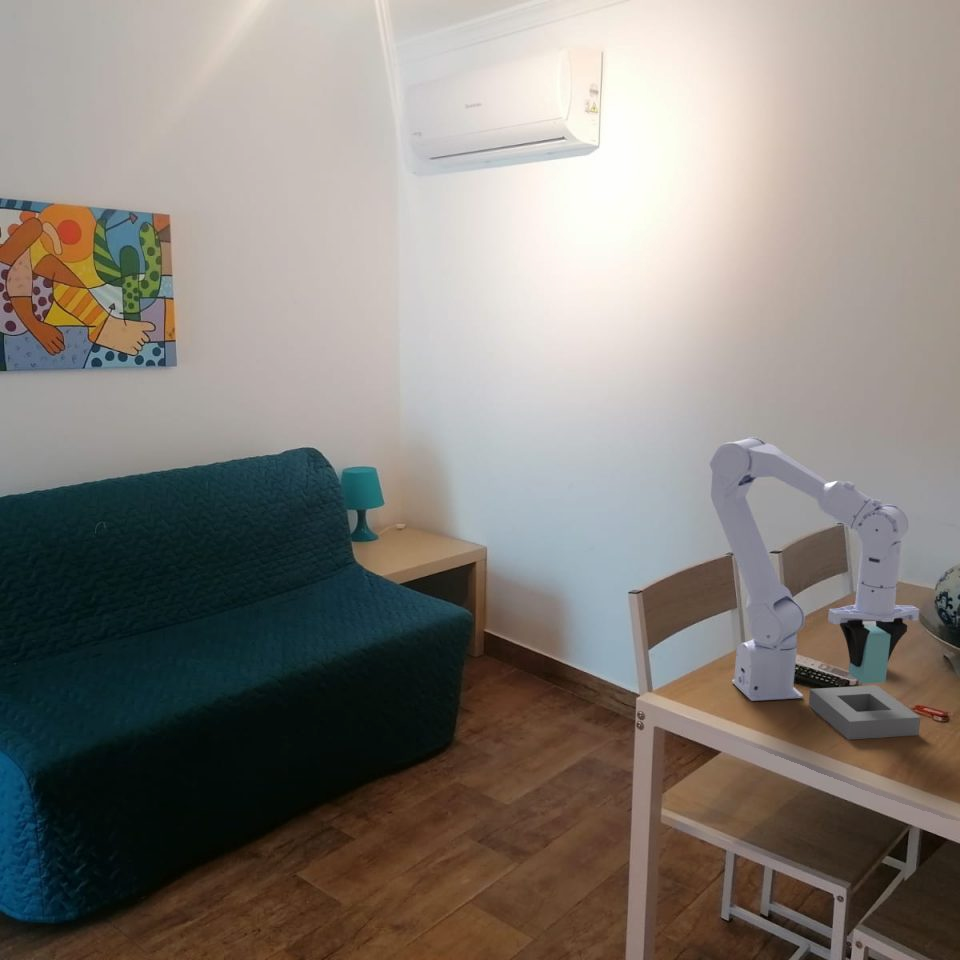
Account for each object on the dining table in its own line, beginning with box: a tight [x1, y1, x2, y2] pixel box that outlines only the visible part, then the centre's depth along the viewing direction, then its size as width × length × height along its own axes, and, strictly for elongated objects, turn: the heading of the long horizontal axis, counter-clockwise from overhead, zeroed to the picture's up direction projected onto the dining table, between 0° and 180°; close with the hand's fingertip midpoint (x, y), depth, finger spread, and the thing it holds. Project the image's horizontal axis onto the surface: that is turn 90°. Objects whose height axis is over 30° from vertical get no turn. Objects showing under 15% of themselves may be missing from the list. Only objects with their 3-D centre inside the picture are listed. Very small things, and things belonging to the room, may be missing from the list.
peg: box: [848, 626, 891, 685], centre depth 149 cm, size 4×4×8 cm
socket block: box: [808, 684, 921, 740], centre depth 150 cm, size 12×12×3 cm
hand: (868, 663), depth 149 cm, fingers closed on peg, 4 cm apart
